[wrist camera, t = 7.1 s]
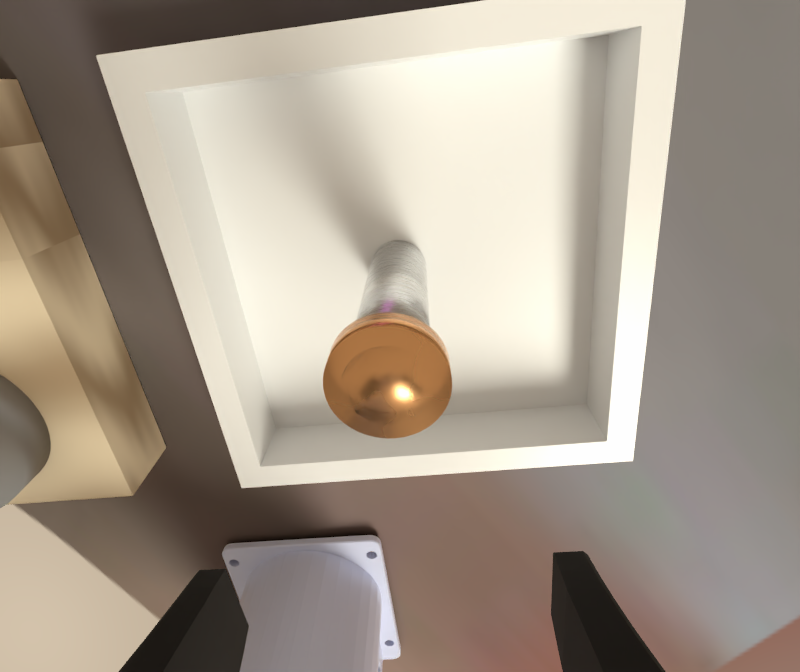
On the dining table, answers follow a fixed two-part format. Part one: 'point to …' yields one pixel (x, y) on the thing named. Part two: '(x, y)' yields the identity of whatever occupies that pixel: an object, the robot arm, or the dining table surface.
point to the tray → (415, 220)
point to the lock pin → (390, 352)
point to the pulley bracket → (59, 343)
